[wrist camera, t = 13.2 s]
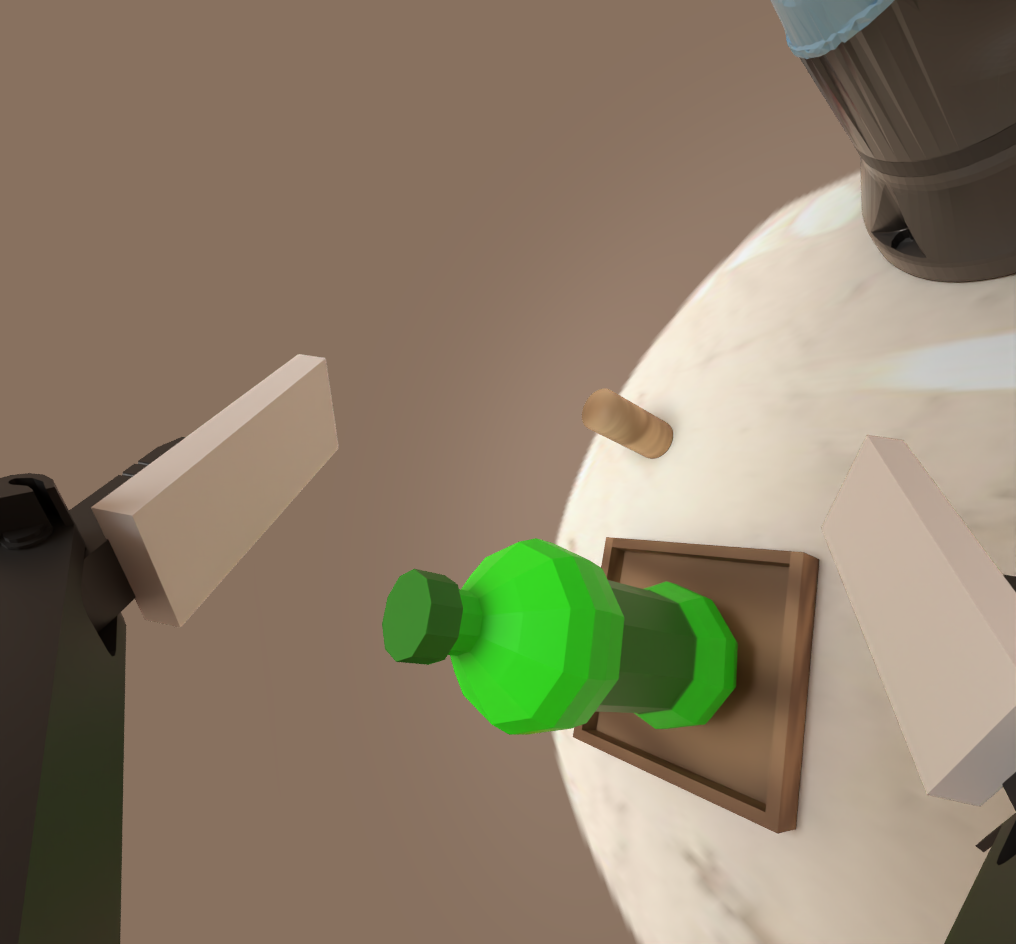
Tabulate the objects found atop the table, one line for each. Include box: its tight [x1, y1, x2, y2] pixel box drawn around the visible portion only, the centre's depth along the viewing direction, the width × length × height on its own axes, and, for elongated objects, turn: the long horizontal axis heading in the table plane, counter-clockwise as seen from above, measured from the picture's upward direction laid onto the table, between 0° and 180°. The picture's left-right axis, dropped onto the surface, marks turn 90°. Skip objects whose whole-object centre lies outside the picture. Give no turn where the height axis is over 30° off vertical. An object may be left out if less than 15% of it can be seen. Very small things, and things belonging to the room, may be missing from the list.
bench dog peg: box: [582, 389, 673, 459], centre depth 48 cm, size 4×4×8 cm
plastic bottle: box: [382, 539, 738, 734], centre depth 34 cm, size 10×10×25 cm
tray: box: [573, 537, 819, 833], centre depth 41 cm, size 17×17×2 cm
